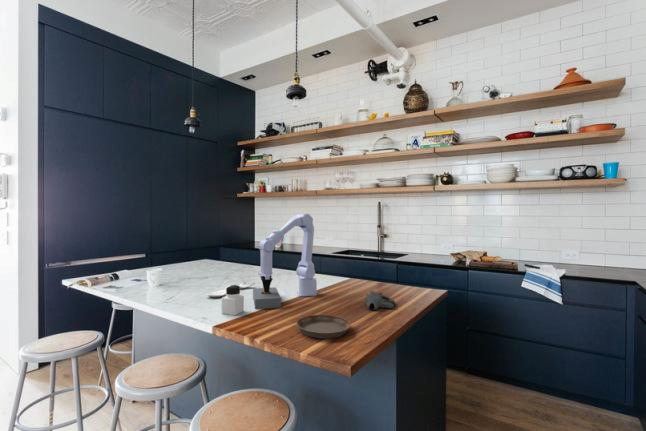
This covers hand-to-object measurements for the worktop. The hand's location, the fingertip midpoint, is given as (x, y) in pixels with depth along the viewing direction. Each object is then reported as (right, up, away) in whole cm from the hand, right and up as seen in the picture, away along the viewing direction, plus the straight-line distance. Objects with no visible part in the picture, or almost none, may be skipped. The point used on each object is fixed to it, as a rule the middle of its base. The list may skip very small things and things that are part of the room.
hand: (266, 291), depth 170 cm
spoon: (-23, -5, +19) cm, 31 cm away
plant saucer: (+28, -7, -39) cm, 49 cm away
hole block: (0, -5, 0) cm, 5 cm away
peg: (0, -3, 0) cm, 3 cm away
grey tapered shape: (+57, -7, -2) cm, 57 cm away
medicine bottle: (-12, -6, -17) cm, 22 cm away
